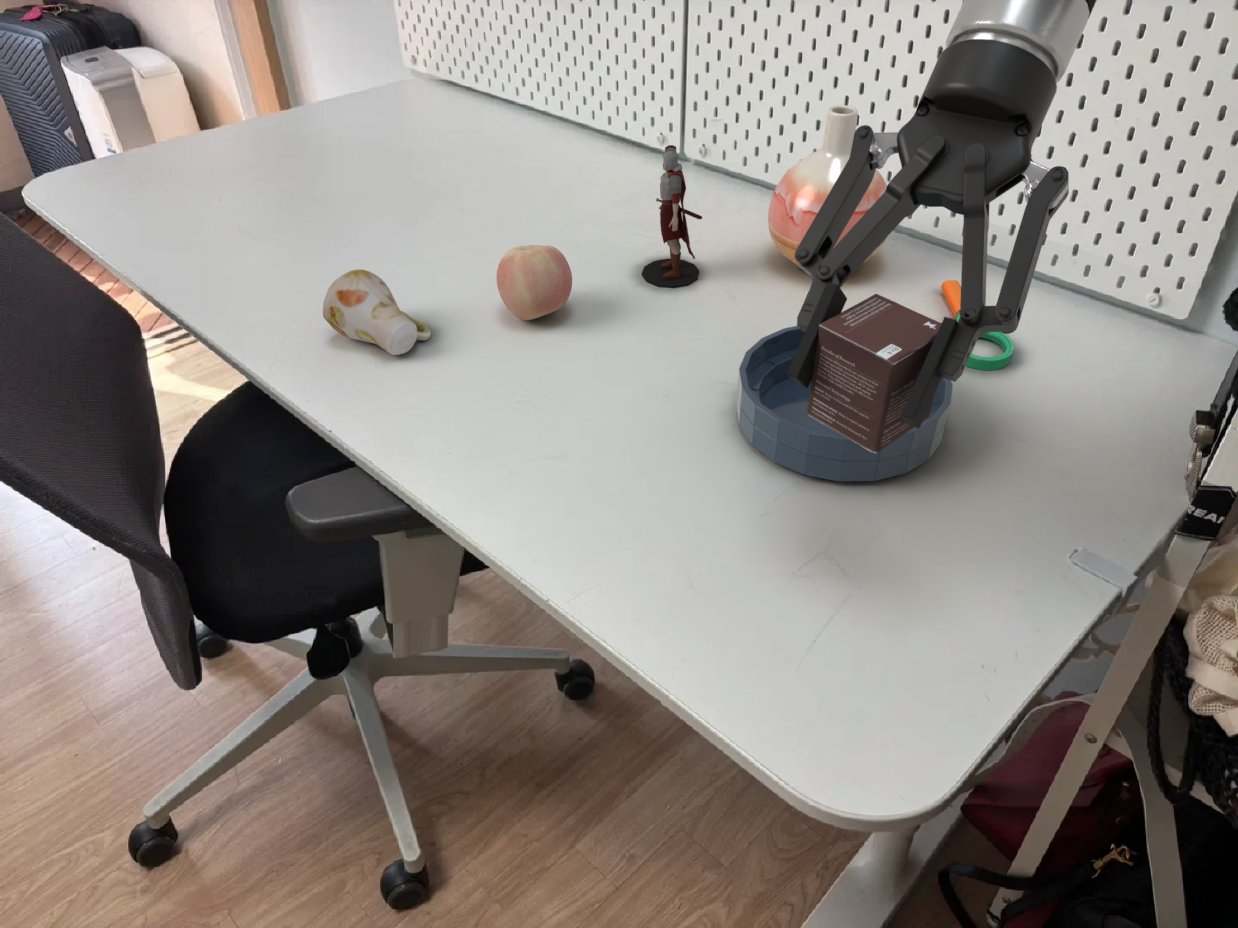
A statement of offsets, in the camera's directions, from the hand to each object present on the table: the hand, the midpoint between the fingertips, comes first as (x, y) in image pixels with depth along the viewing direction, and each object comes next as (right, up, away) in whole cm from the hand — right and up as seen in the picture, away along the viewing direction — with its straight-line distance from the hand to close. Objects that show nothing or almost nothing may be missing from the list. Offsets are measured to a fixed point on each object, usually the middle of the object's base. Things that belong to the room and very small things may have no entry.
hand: (852, 400), depth 59 cm
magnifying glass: (+21, +10, +38) cm, 44 cm away
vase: (+9, +19, +50) cm, 54 cm away
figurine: (-9, +18, +48) cm, 52 cm away
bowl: (+5, 0, +26) cm, 26 cm away
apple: (-24, +12, +42) cm, 49 cm away
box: (+2, -1, +5) cm, 5 cm away
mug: (-39, +9, +39) cm, 56 cm away
